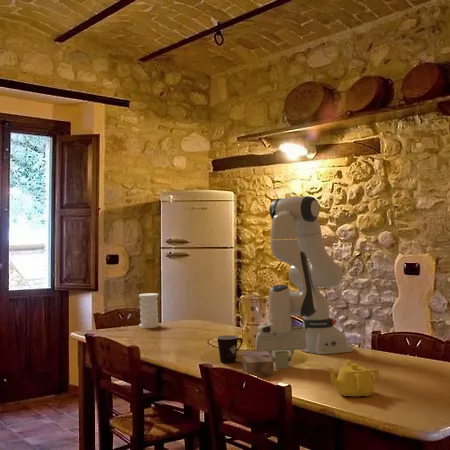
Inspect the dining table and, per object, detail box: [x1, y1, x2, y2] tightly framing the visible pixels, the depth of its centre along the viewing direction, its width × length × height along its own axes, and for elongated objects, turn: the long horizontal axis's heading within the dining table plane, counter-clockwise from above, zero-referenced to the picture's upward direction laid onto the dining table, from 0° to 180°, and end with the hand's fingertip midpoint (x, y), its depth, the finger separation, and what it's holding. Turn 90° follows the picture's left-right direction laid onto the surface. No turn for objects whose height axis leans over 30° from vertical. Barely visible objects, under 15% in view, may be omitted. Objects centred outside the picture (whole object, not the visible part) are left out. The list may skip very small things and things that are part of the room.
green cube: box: [273, 350, 290, 369], centre depth 236 cm, size 5×5×6 cm
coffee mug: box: [216, 334, 243, 364], centre depth 248 cm, size 12×9×10 cm
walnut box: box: [241, 354, 275, 378], centre depth 227 cm, size 10×10×6 cm
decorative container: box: [138, 292, 161, 329], centre depth 336 cm, size 12×12×18 cm
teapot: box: [325, 358, 380, 397], centre depth 198 cm, size 14×13×10 cm
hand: (281, 361), depth 237 cm, fingers closed on green cube, 5 cm apart
